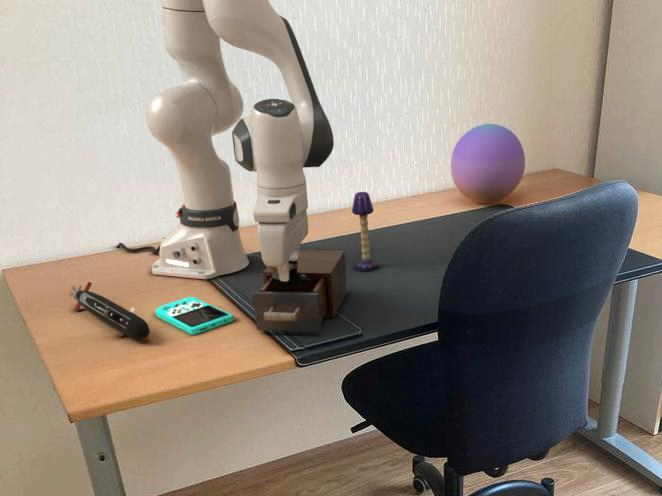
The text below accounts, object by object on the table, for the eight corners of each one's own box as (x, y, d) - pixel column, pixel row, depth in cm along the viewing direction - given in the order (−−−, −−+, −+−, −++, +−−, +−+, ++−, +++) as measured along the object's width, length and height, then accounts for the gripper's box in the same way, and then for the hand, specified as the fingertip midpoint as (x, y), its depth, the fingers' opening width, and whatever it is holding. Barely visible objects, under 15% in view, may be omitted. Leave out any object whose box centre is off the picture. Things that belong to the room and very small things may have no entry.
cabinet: (333, 317, 165) (330, 273, 160) (267, 316, 168) (262, 272, 163) (347, 293, 176) (344, 250, 171) (284, 291, 179) (280, 250, 174)
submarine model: (82, 313, 180) (41, 292, 173) (96, 285, 180) (56, 264, 172) (152, 356, 160) (109, 335, 152) (168, 325, 159) (125, 302, 152)
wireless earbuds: (288, 289, 156) (287, 272, 154) (271, 278, 161) (269, 262, 159) (310, 283, 158) (309, 266, 156) (292, 273, 163) (290, 257, 161)
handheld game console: (193, 300, 177) (192, 294, 176) (236, 320, 166) (235, 314, 166) (151, 314, 171) (150, 307, 171) (192, 335, 161) (191, 328, 160)
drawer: (314, 342, 154) (311, 304, 150) (249, 340, 156) (245, 303, 152) (333, 307, 168) (331, 271, 164) (274, 305, 170) (270, 270, 166)
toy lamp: (373, 272, 187) (370, 196, 177) (353, 271, 188) (349, 195, 178) (377, 265, 191) (374, 190, 181) (357, 264, 191) (353, 190, 182)
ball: (514, 190, 239) (518, 115, 228) (530, 209, 223) (535, 129, 212) (445, 194, 239) (445, 120, 228) (456, 214, 222) (457, 134, 211)
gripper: (281, 184, 159) (287, 255, 167) (249, 215, 142) (258, 292, 150) (313, 184, 158) (318, 256, 166) (285, 215, 141) (292, 293, 149)
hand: (289, 274), depth 158 cm, fingers closed on wireless earbuds, 5 cm apart
